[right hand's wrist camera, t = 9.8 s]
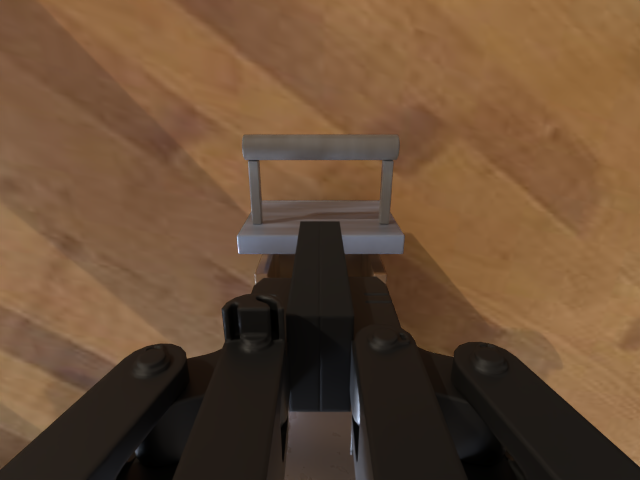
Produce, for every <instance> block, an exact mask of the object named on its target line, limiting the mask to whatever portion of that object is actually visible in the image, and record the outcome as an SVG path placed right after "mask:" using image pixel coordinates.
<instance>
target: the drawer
mask: <svg viewBox="0 0 640 480" xmlns="http://www.w3.org/2000/svg"><path fill="white" fill-rule="evenodd" d="M399 146H400V143H399V136H398V135H397V134H370V135H243V139H242V152H243V157H244V159H245V160H249V161H248V168H249V183H250V197H251V213H250V215H249V217H248V218H247V220H246V222H245V223H244V225H243V227H242V228H241V230H240V232H239V233H238V235H237V243H238V253H239V254H262V256H261V259H260V262H259V264H258V267H257V270H256V273H255V284H257V283H258V282H259V281H260V280H261V279H263V278H292V272H293V265H294V259H295V253H296V246H297V240H298V233H299V227H300V221H340V227H341V233H342V240H343V246H344V253H345V259H346V265H347V272H348V277H378V278H379V279H380V280H381V281H383V282H384V283H385V284H386V281H387V274H386V271H385V268H384V266H383V263H382V260H381V258H380V255H379V254H403V251H404V239H405V236H404V234H403V232H402V231H401V229H400V227H399V226H398V224H397V222H396V221H395V219H394V217H393V216H392V214H391V213H390V204H391V190H392V176H393V160H397V158H398V155H399ZM259 160H382V172H381V189H380V201H262V197H261V180H260V163H259Z"/></svg>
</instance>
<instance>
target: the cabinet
mask: <svg viewBox="0 0 640 480" xmlns="http://www.w3.org/2000/svg"><path fill="white" fill-rule="evenodd" d="M288 424H289V434H288V445H287V456H286V467H285V478H284V480H356V478H355V467H354V455H350V449H351V424H352V408H351V412H289V410H288Z"/></svg>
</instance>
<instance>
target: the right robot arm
mask: <svg viewBox="0 0 640 480" xmlns="http://www.w3.org/2000/svg"><path fill="white" fill-rule="evenodd" d="M222 317H223V326H224V335H225V343H224V346H223V348H222V349H220V350H218V351H216V352H213V353H210V354H206V355H202V356H198V357H193V358H188V359H187V357H186V352H185V351H184V350H183V349H182V348H181V347H179V346H176V345H173V344H155V345H150V346H146V347H144V348H142V349H139V350H137V351H135V352H133V353H132V354H130V355H129V356H127V357H126V358H124V359H123V360H122V361H121V362H120V363H119V364H118V365H117V366H115V367H114V368H113V369H112V370H111V371H110V372H109V373H108V374H107V375H105V376H104V377H103V378H102V379H101V380H100V381H99V382H98V383H97V384H95V385H94V386H93V387H92V388H91V389H90V390H89V391H88V392H87V393H85V394H84V395H83V396H82V397H81V398H80V399H79V400H78V401H77V402H75V403H74V404H73V405H72V406H71V407H70V408H69V409H68V410H67V411H65V412H64V413H63V414H62V415H61V416H60V417H59V418H58V419H57V420H55V421H54V422H53V423H52V424H51V425H50V426H49V427H48V428H47V429H45V430H44V431H43V432H42V433H41V434H40V435H39V436H38V437H37V438H35V439H34V440H33V441H32V442H31V443H30V444H29V445H28V446H27V447H25V448H24V449H23V450H22V451H21V452H20V453H19V454H18V455H17V456H15V457H14V458H13V459H12V460H11V461H10V462H9V463H8V464H7V465H5V466H4V467H3V468H2V469H1V470H0V480H284V478H285V467H286V456H287V445H288V434H289V424H288V410H289V412H351V408H352V424H351V449H350V455H354V467H355V478H356V480H640V467H639V466H638V465H637V464H636V463H635V462H633V461H632V460H631V459H630V458H629V457H628V456H627V455H626V454H624V453H623V452H622V451H621V450H620V449H619V448H618V447H617V446H616V445H614V444H613V443H612V442H611V441H610V440H609V439H608V438H607V437H605V436H604V435H603V434H602V433H601V432H600V431H599V430H598V429H596V428H595V427H594V426H593V425H592V424H591V423H590V422H589V421H587V420H586V419H585V418H584V417H583V416H582V415H581V414H580V413H579V412H577V411H576V410H575V409H574V408H573V407H572V406H571V405H570V404H568V403H567V402H566V401H565V400H564V399H563V398H562V397H561V396H559V395H558V394H557V393H556V392H555V391H554V390H553V389H552V388H550V387H549V386H548V385H547V384H546V383H545V382H544V381H543V380H542V379H540V378H539V377H538V376H537V375H536V374H535V373H534V372H533V371H531V370H530V369H529V368H528V367H527V366H526V365H525V364H524V363H522V362H521V361H520V360H519V359H518V358H517V357H516V356H514V355H513V354H511V353H510V352H508V351H507V350H505V349H503V348H500V347H498V346H496V345H493V344H489V343H483V342H468V343H465V344H462V345H459V347H458V348H457V349H456V350H455V351H454V357H450V356H445V355H441V354H436V353H432V352H429V351H425V350H423V349H421V348H419V347H417V345H416V342H415V340H414V339H413V337H412V336H411V335H410V334H409V333H408V332H406V331H405V330H403V329H402V328H401V326H400V323H399V320H398V317H397V314H396V311H395V309H394V306H393V303H392V300H391V297H390V295H389V291H388V289H387V286H386V284H385V283H384V282H383V281H381V280H380V279H379V278H378V277H348V272H347V265H346V259H345V253H344V246H343V240H342V233H341V227H340V221H300V227H299V233H298V240H297V246H296V253H295V259H294V265H293V272H292V278H263V279H261V280H260V281H259V282H258V283H257V284H255V285H254V287H253V290H252V293H251V294H246V295H243V296H239V297H236V298H234V299H232V300H230V301H229V302H227V303H226V304H225V305H224V307H223V308H222Z"/></svg>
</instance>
